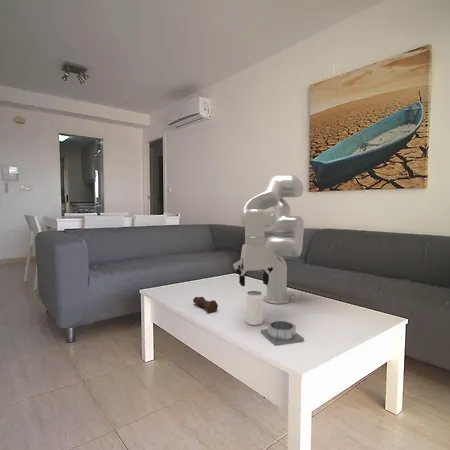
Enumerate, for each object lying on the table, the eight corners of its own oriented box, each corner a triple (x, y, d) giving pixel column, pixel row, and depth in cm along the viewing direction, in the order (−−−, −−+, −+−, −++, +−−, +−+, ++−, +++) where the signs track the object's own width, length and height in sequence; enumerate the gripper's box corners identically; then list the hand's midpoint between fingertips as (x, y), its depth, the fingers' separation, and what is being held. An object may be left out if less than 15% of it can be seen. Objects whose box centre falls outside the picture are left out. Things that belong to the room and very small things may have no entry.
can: (252, 318, 124) (252, 289, 123) (265, 322, 120) (265, 292, 119) (242, 323, 119) (242, 293, 118) (256, 327, 115) (256, 296, 114)
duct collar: (287, 329, 113) (287, 318, 113) (303, 341, 103) (304, 329, 103) (260, 332, 110) (260, 321, 110) (274, 345, 100) (274, 333, 99)
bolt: (197, 307, 144) (214, 315, 132) (189, 304, 142) (205, 311, 129) (202, 296, 146) (219, 302, 133) (194, 292, 143) (211, 298, 131)
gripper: (270, 240, 124) (270, 281, 124) (230, 240, 119) (230, 284, 119) (279, 241, 117) (278, 285, 117) (237, 242, 112) (236, 288, 112)
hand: (254, 284), depth 118 cm, fingers open, 9 cm apart
